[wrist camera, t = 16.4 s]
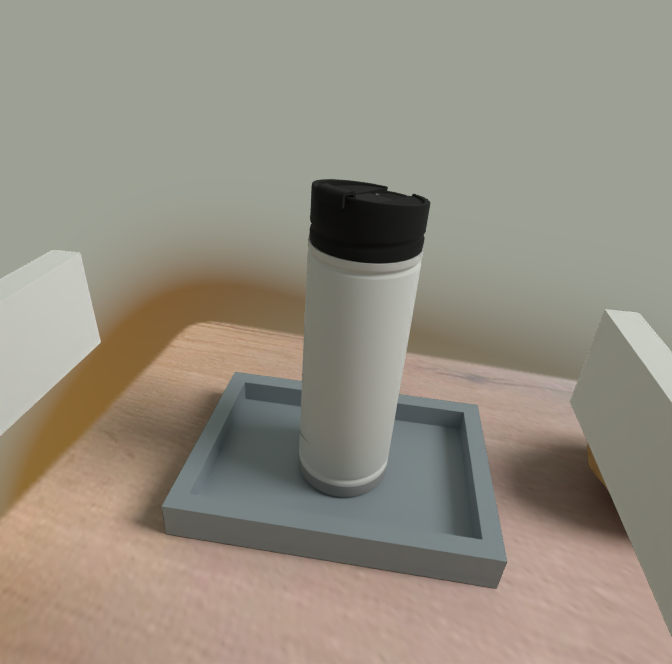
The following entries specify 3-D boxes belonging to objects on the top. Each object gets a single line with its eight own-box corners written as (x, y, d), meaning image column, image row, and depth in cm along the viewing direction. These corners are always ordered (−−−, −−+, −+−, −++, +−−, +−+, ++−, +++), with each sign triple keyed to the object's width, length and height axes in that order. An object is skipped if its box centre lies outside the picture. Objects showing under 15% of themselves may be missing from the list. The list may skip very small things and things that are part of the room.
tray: (470, 428, 40) (477, 404, 39) (496, 588, 28) (507, 561, 27) (236, 395, 42) (235, 371, 41) (166, 533, 30) (161, 506, 29)
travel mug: (276, 467, 34) (279, 175, 24) (337, 422, 39) (361, 161, 29) (344, 519, 31) (382, 205, 21) (402, 463, 35) (457, 184, 25)
